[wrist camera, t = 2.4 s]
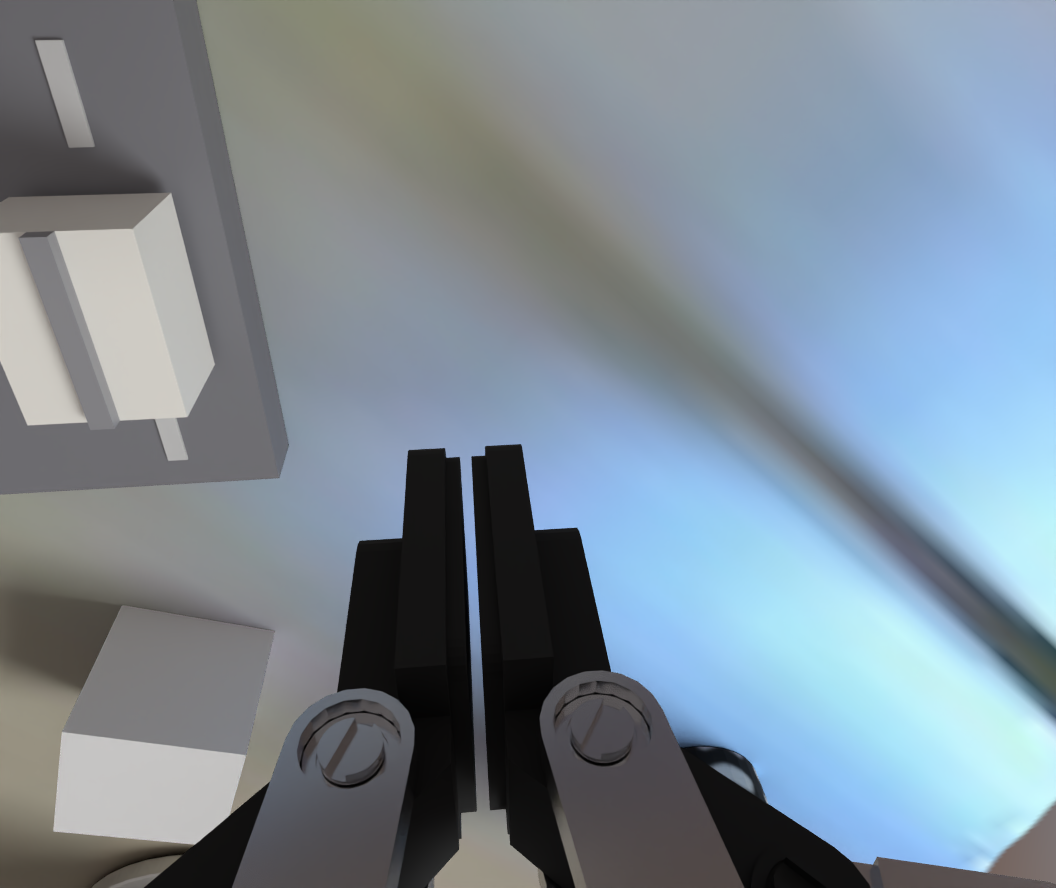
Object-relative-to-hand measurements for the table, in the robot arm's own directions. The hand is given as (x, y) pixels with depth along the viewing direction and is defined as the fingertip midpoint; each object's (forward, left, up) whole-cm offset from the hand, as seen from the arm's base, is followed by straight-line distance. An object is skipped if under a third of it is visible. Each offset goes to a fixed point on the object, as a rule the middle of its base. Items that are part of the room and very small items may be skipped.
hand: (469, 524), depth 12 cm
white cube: (-18, +12, -15) cm, 27 cm away
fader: (0, +9, -12) cm, 15 cm away
